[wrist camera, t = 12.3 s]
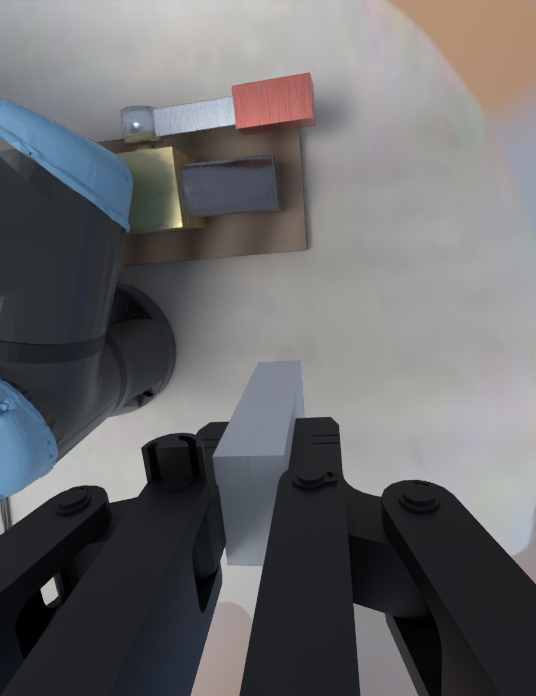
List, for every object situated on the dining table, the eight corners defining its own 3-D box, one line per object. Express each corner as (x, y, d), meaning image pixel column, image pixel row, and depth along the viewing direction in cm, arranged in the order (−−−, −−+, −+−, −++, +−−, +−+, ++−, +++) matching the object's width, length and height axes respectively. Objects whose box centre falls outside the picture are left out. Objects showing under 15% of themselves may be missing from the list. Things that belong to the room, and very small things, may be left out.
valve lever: (118, 145, 35) (311, 116, 32) (111, 105, 34) (309, 70, 31) (137, 152, 38) (315, 125, 35) (131, 115, 37) (313, 84, 34)
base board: (105, 266, 46) (99, 267, 45) (84, 148, 43) (75, 145, 42) (307, 249, 43) (306, 249, 42) (298, 119, 40) (297, 116, 39)
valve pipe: (111, 237, 44) (63, 238, 36) (98, 164, 42) (44, 148, 34) (284, 220, 41) (274, 218, 33) (278, 142, 40) (266, 119, 31)
